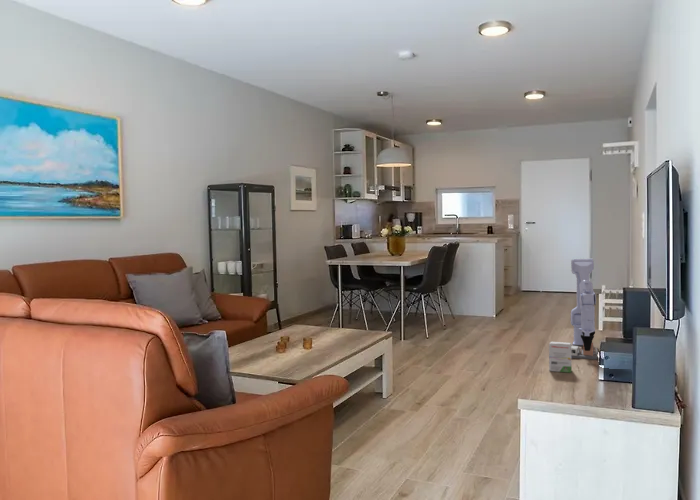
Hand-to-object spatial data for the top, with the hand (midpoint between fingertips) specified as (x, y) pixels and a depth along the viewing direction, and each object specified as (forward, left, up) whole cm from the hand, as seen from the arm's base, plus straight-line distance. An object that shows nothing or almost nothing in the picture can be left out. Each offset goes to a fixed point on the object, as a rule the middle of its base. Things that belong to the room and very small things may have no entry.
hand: (588, 348), depth 266 cm
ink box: (+30, -9, -4) cm, 32 cm away
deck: (-2, -3, -3) cm, 5 cm away
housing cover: (+1, -7, -2) cm, 7 cm away
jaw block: (0, 0, -2) cm, 2 cm away
